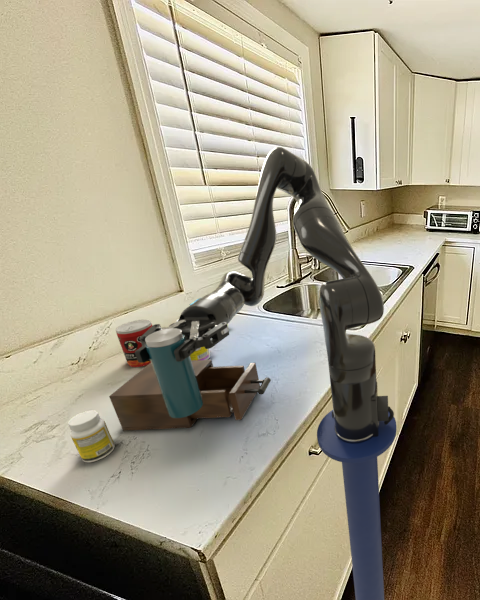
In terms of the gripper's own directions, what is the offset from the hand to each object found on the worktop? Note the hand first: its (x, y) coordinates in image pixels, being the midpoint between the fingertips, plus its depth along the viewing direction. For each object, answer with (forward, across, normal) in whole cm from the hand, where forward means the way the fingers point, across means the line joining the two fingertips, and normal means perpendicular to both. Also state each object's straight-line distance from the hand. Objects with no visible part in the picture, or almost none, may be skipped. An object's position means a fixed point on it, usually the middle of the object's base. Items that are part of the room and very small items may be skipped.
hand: (158, 357), depth 52 cm
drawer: (-14, +2, +20) cm, 25 cm away
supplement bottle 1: (-2, -18, +22) cm, 28 cm away
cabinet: (-14, -11, +22) cm, 28 cm away
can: (-3, 0, +12) cm, 13 cm away
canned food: (-36, -32, +22) cm, 53 cm away
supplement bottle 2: (-35, -17, +22) cm, 45 cm away
